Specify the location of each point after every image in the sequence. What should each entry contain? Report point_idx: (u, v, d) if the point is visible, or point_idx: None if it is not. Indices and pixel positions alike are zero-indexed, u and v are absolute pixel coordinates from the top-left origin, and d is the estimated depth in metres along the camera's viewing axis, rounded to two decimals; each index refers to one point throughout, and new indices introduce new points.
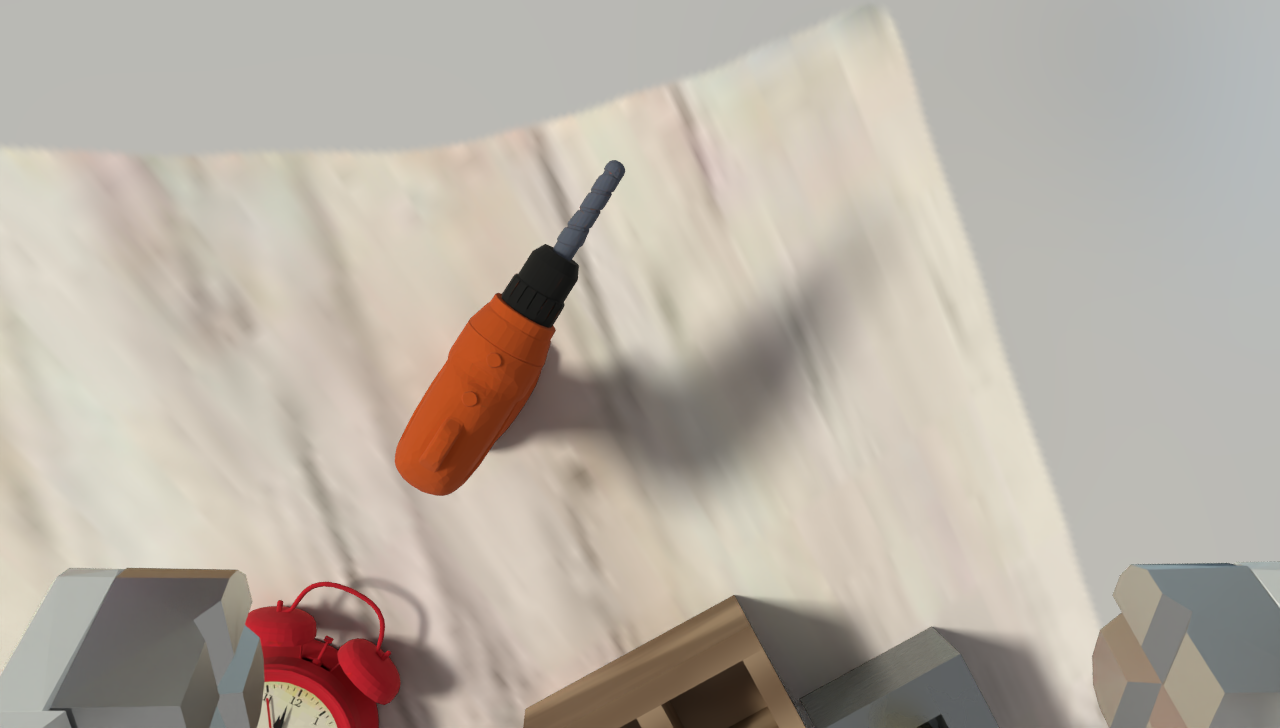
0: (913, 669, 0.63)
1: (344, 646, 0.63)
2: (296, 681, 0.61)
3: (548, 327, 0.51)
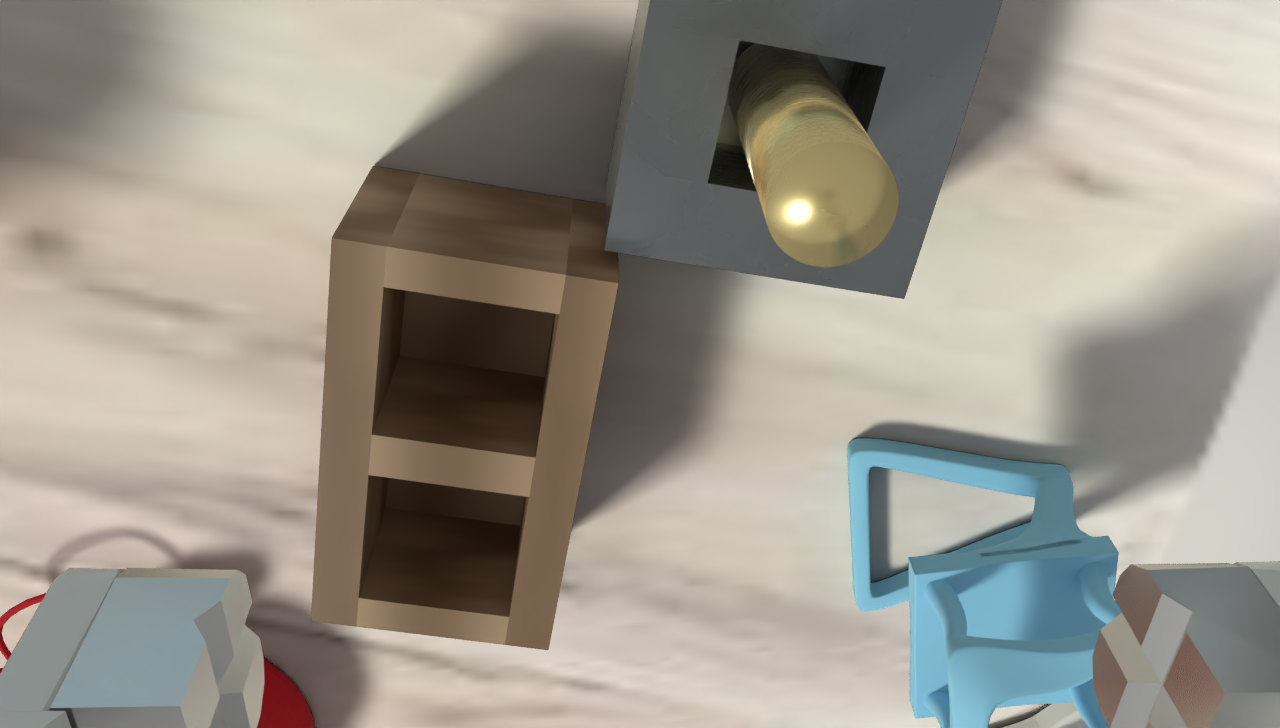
0: (644, 17, 0.30)
1: None
2: None
3: None
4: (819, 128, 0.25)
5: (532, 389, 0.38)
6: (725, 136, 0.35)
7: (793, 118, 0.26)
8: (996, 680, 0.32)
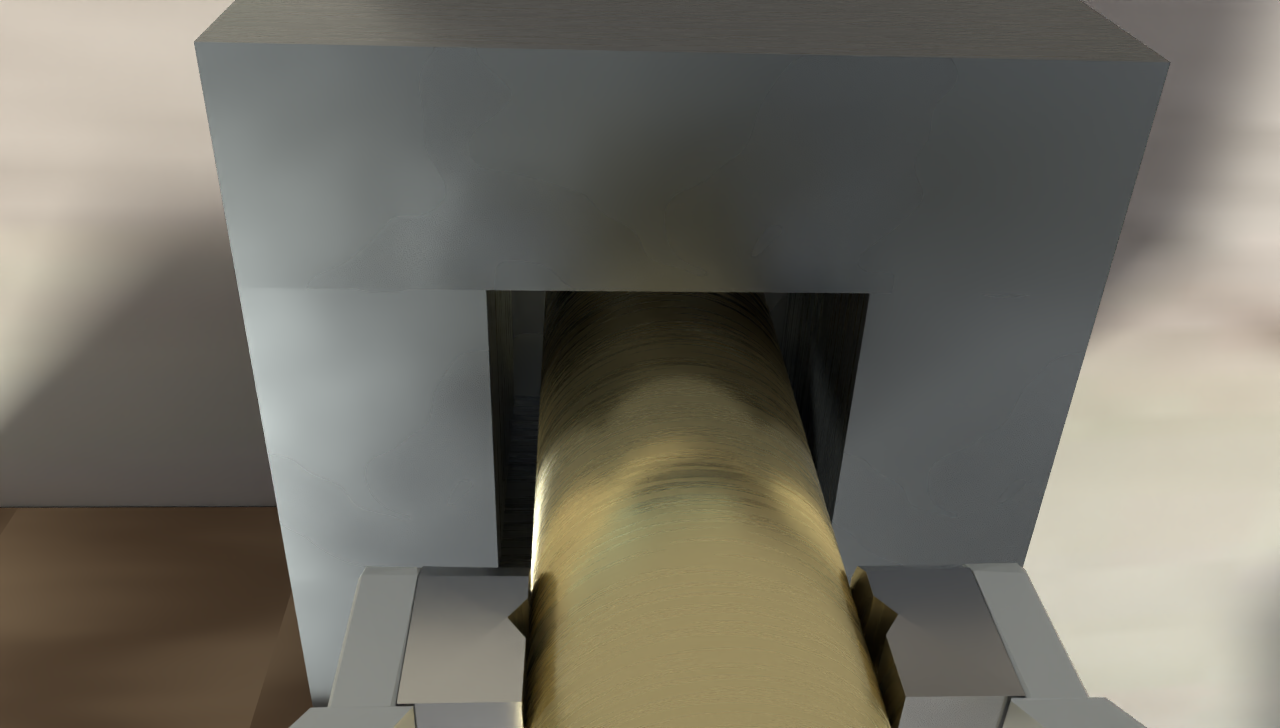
0: None
1: None
2: None
3: None
4: (658, 712, 0.08)
5: None
6: None
7: (600, 611, 0.09)
8: None
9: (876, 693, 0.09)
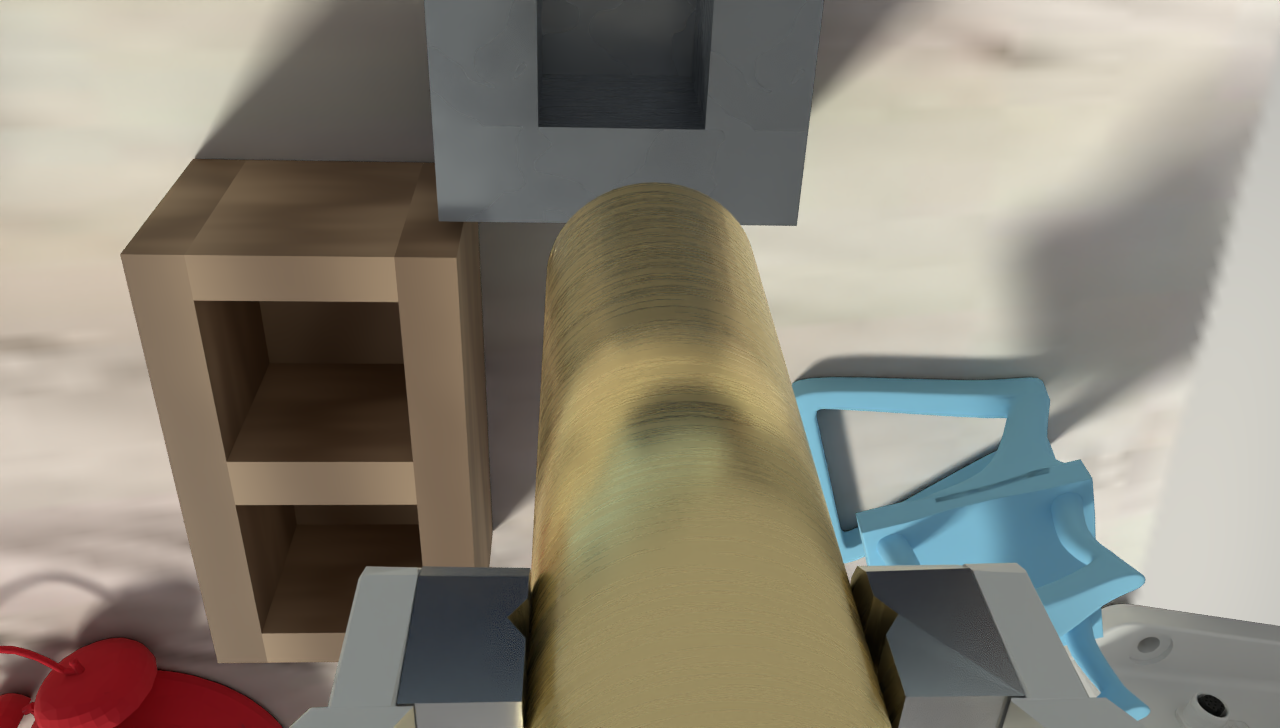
0: None
1: None
2: None
3: None
4: (658, 711, 0.08)
5: None
6: (572, 66, 0.30)
7: (600, 608, 0.09)
8: None
9: (877, 692, 0.09)
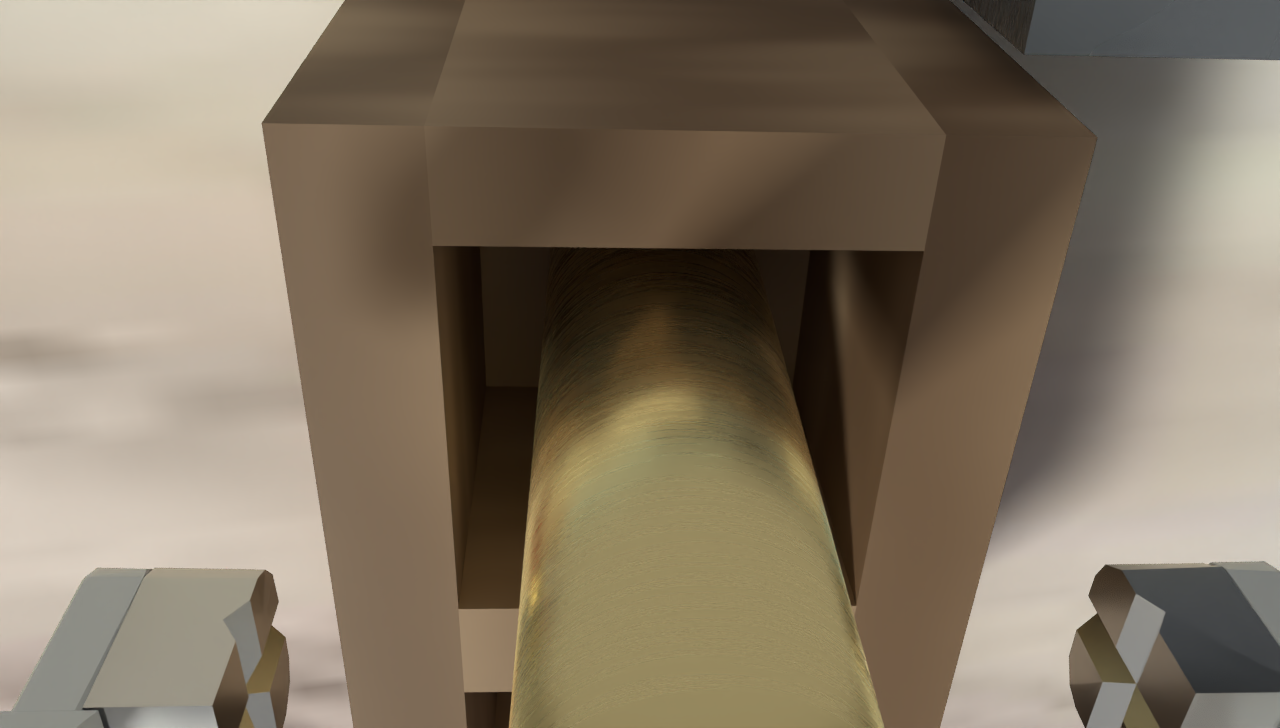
0: None
1: None
2: None
3: None
4: (638, 593, 0.08)
5: None
6: None
7: (589, 515, 0.10)
8: None
9: (843, 593, 0.09)
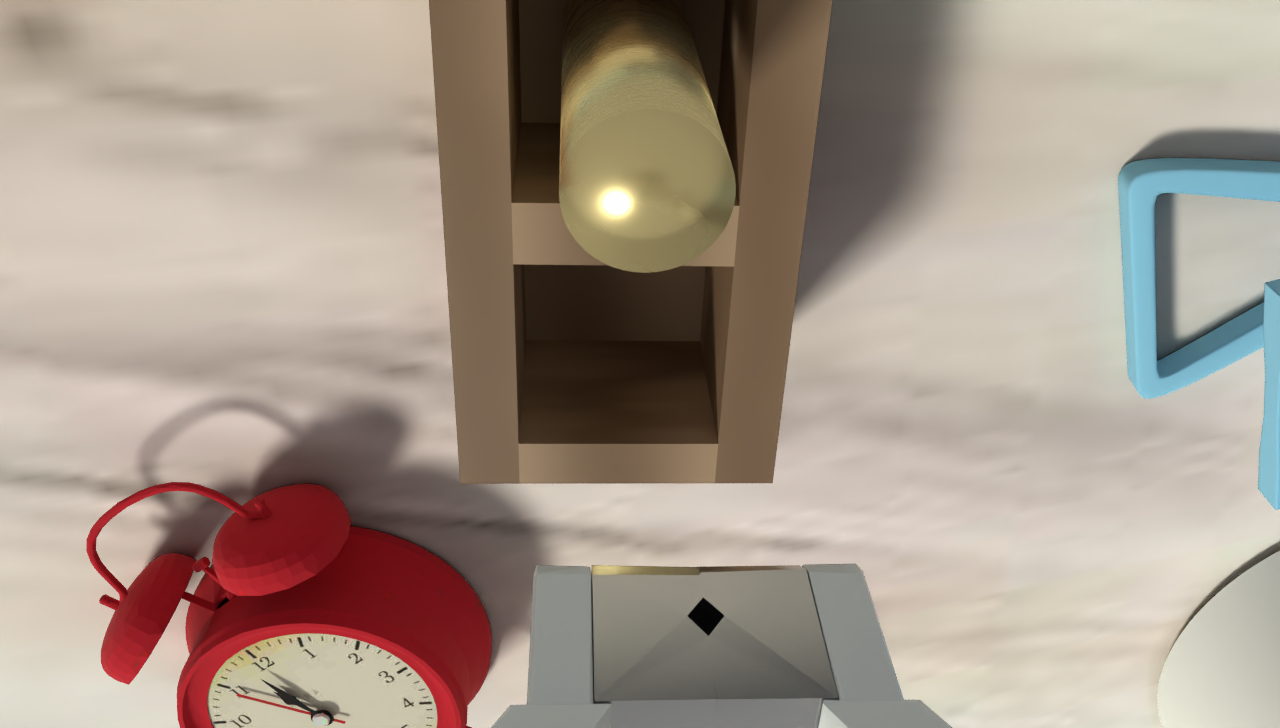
0: None
1: None
2: (227, 652, 0.35)
3: None
4: (618, 92, 0.19)
5: None
6: None
7: (593, 81, 0.20)
8: None
9: (714, 114, 0.20)
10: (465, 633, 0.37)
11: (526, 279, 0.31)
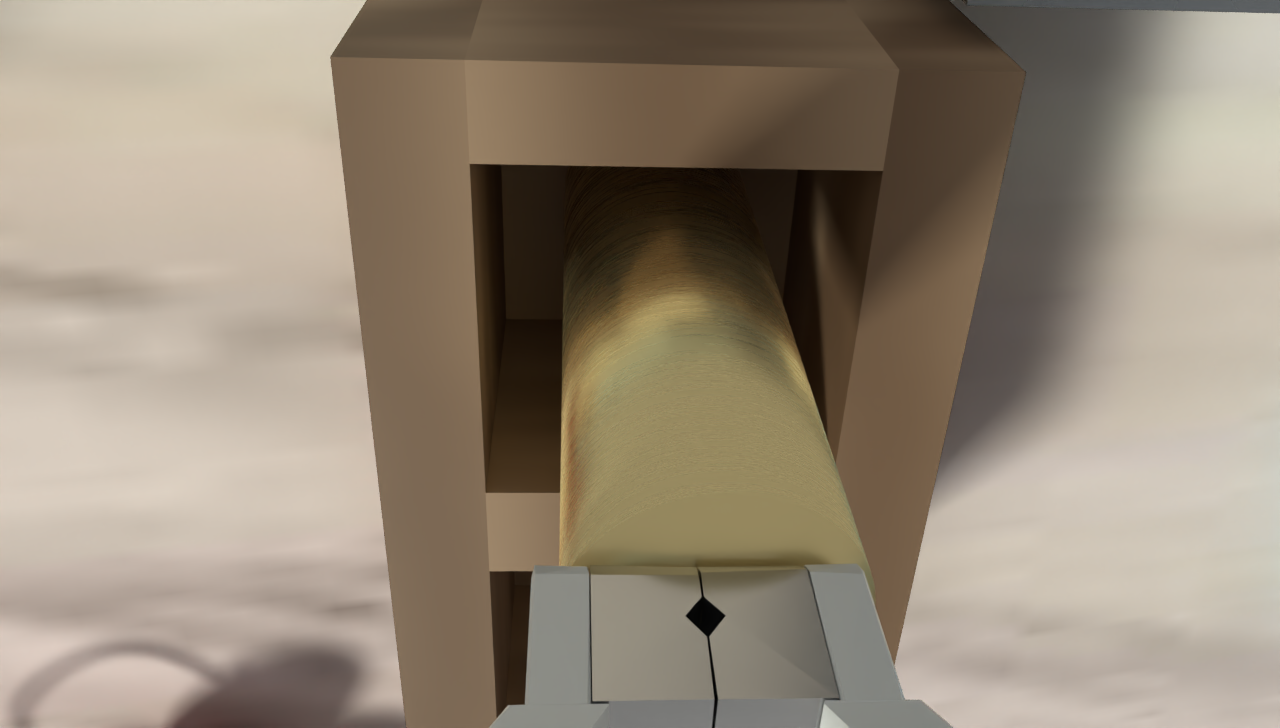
0: None
1: None
2: None
3: None
4: (663, 433, 0.11)
5: None
6: None
7: (618, 383, 0.12)
8: None
9: (825, 441, 0.12)
10: None
11: None
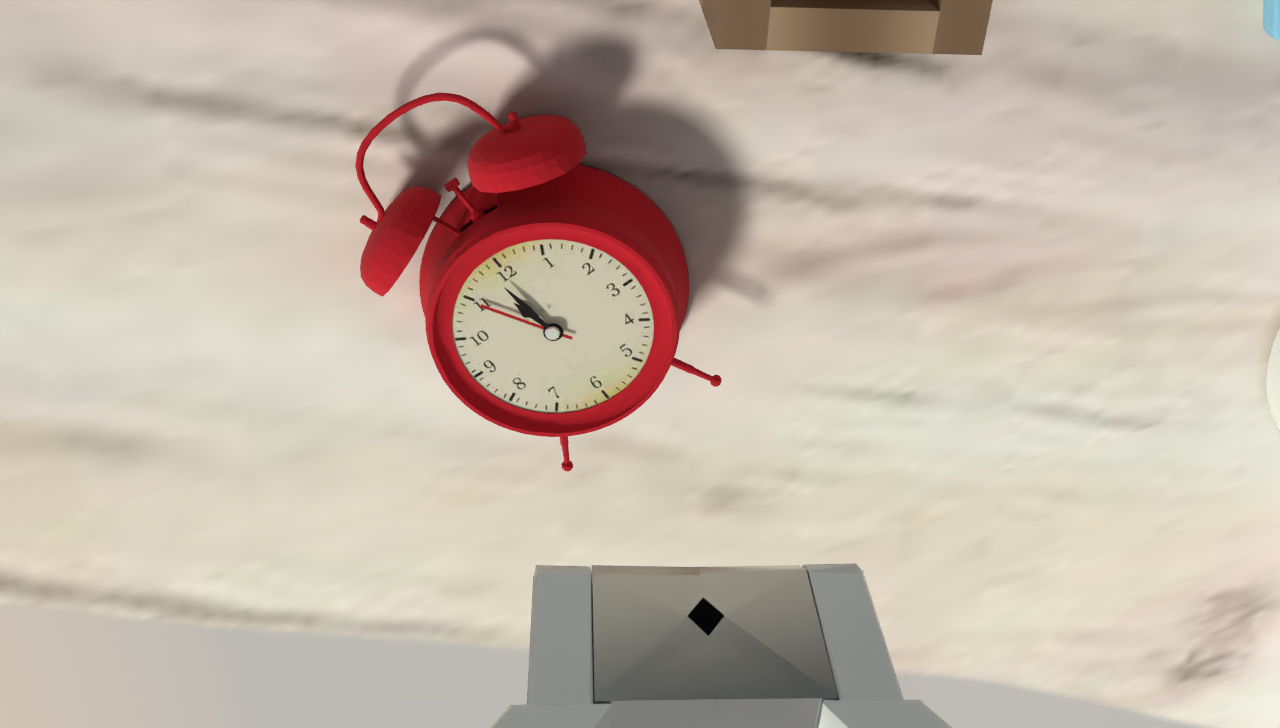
0: None
1: None
2: (477, 259, 0.39)
3: None
4: None
5: None
6: None
7: None
8: None
9: None
10: (673, 267, 0.42)
11: None
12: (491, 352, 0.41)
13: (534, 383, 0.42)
